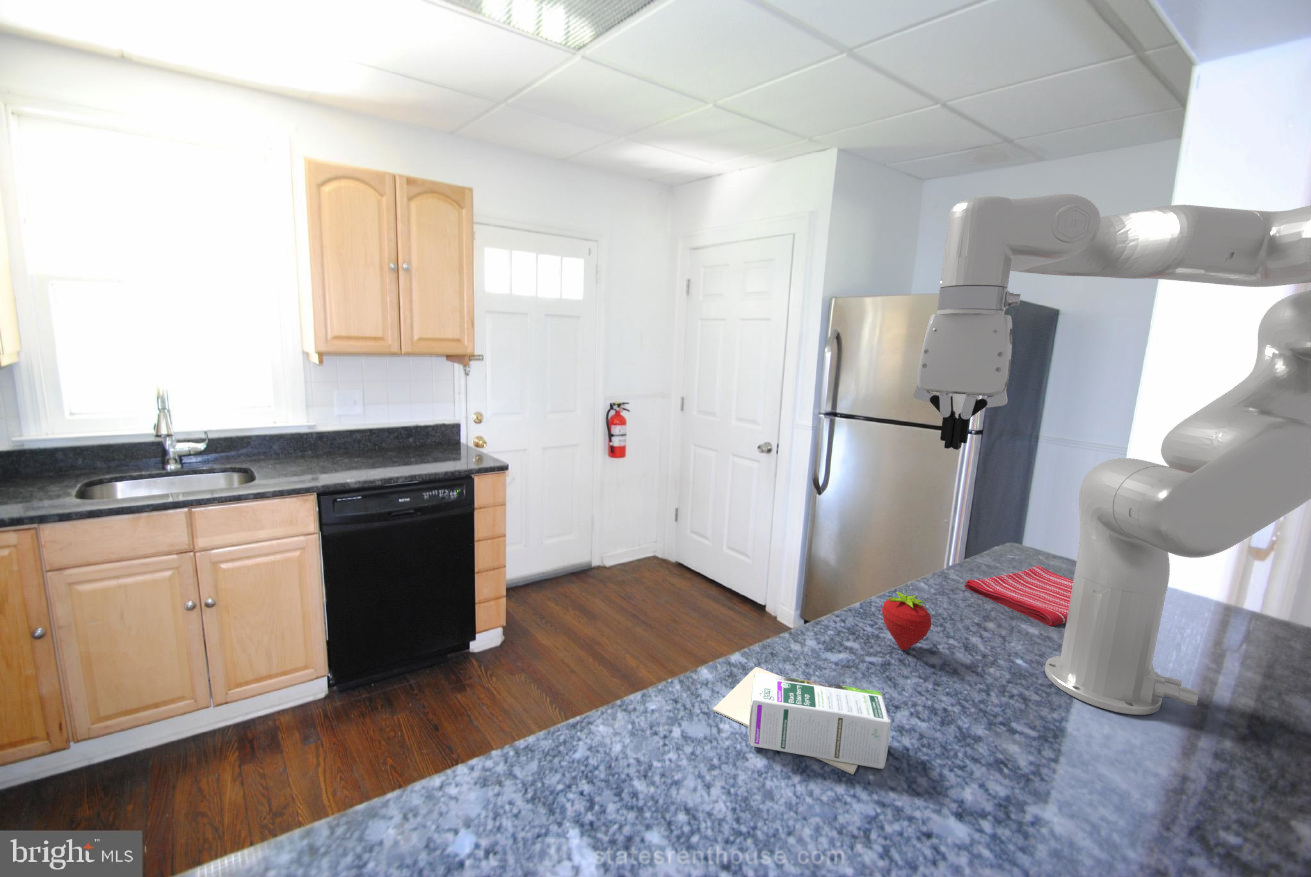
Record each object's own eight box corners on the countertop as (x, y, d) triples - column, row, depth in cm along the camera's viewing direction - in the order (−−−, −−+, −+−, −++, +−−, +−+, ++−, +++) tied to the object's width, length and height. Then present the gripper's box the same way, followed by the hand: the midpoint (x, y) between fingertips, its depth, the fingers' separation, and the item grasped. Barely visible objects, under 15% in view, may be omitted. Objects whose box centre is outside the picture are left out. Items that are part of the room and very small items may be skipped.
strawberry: (907, 666, 82) (915, 600, 81) (868, 640, 89) (875, 579, 88) (937, 658, 85) (945, 594, 83) (897, 634, 92) (904, 574, 90)
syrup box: (891, 722, 60) (751, 697, 63) (885, 772, 61) (746, 745, 64) (882, 691, 66) (753, 669, 69) (876, 737, 67) (749, 714, 70)
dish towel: (959, 590, 111) (961, 577, 111) (1036, 574, 121) (1038, 562, 121) (1051, 631, 96) (1054, 616, 96) (1130, 609, 106) (1132, 595, 106)
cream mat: (883, 717, 71) (883, 715, 70) (853, 774, 61) (853, 772, 61) (755, 668, 80) (756, 666, 80) (712, 711, 70) (712, 708, 70)
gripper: (1043, 306, 71) (1021, 452, 74) (913, 306, 80) (899, 437, 83) (1040, 301, 65) (1017, 460, 68) (900, 301, 74) (885, 443, 77)
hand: (952, 447), depth 75 cm, fingers closed
